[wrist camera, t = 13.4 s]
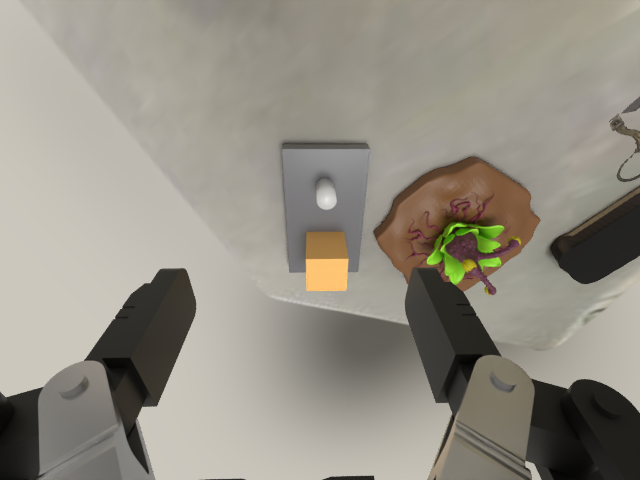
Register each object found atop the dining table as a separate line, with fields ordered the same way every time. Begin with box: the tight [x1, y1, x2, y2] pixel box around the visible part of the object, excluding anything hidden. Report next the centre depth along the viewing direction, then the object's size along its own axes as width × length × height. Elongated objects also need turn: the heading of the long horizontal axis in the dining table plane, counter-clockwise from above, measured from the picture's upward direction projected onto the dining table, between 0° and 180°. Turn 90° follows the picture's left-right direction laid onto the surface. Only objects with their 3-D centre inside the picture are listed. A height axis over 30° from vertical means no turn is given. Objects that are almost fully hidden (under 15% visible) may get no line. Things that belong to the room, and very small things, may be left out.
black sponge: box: [552, 187, 640, 284], centre depth 42 cm, size 16×8×4 cm, turn 139°
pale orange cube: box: [306, 232, 348, 291], centre depth 39 cm, size 5×5×6 cm
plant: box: [374, 157, 540, 295], centre depth 39 cm, size 20×20×11 cm
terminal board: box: [282, 144, 370, 273], centre depth 39 cm, size 18×10×6 cm, turn 0°
